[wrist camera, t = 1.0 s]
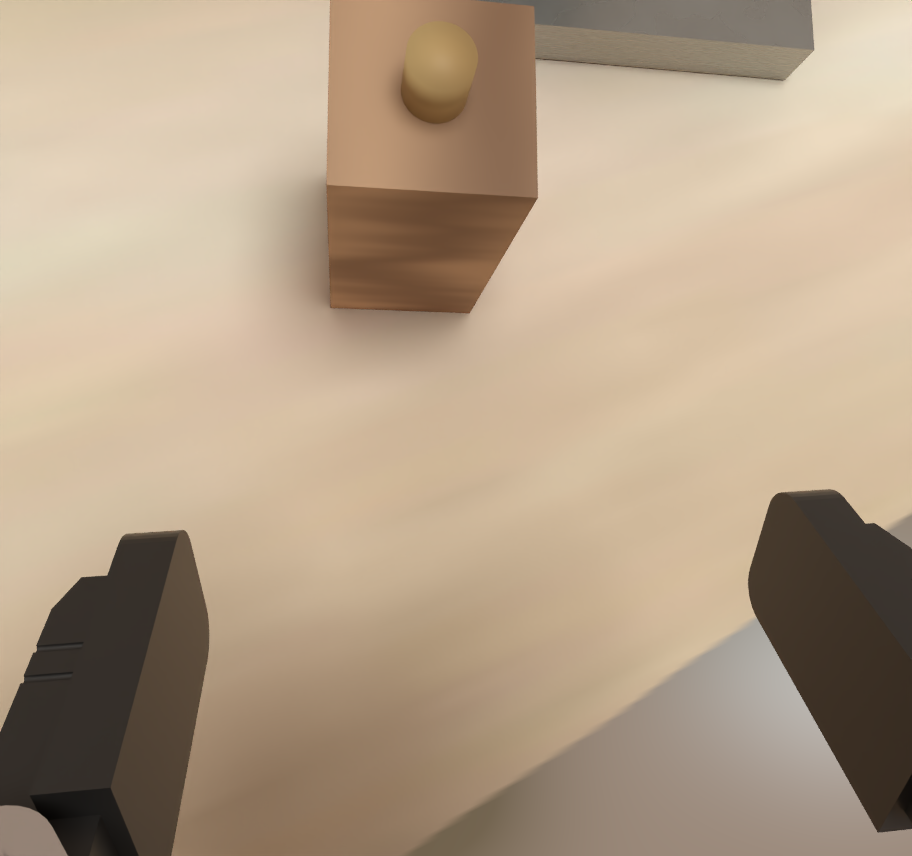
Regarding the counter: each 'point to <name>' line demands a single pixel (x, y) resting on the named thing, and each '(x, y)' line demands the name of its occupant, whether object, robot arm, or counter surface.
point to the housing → (427, 148)
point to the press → (677, 34)
